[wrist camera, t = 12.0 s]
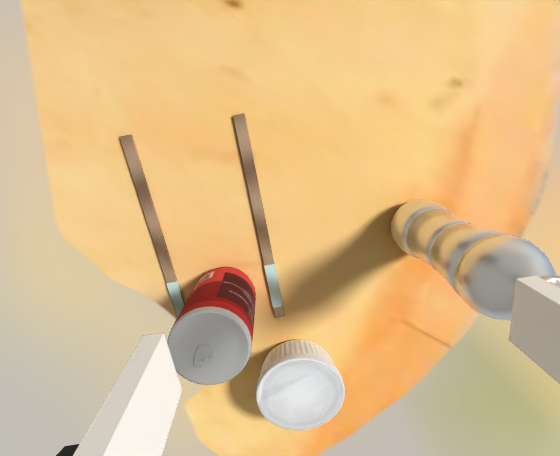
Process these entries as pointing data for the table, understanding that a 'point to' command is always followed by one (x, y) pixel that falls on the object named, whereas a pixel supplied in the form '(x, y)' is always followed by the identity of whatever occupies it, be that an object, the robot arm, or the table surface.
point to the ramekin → (299, 386)
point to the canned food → (214, 328)
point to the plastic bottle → (470, 256)
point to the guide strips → (256, 206)
